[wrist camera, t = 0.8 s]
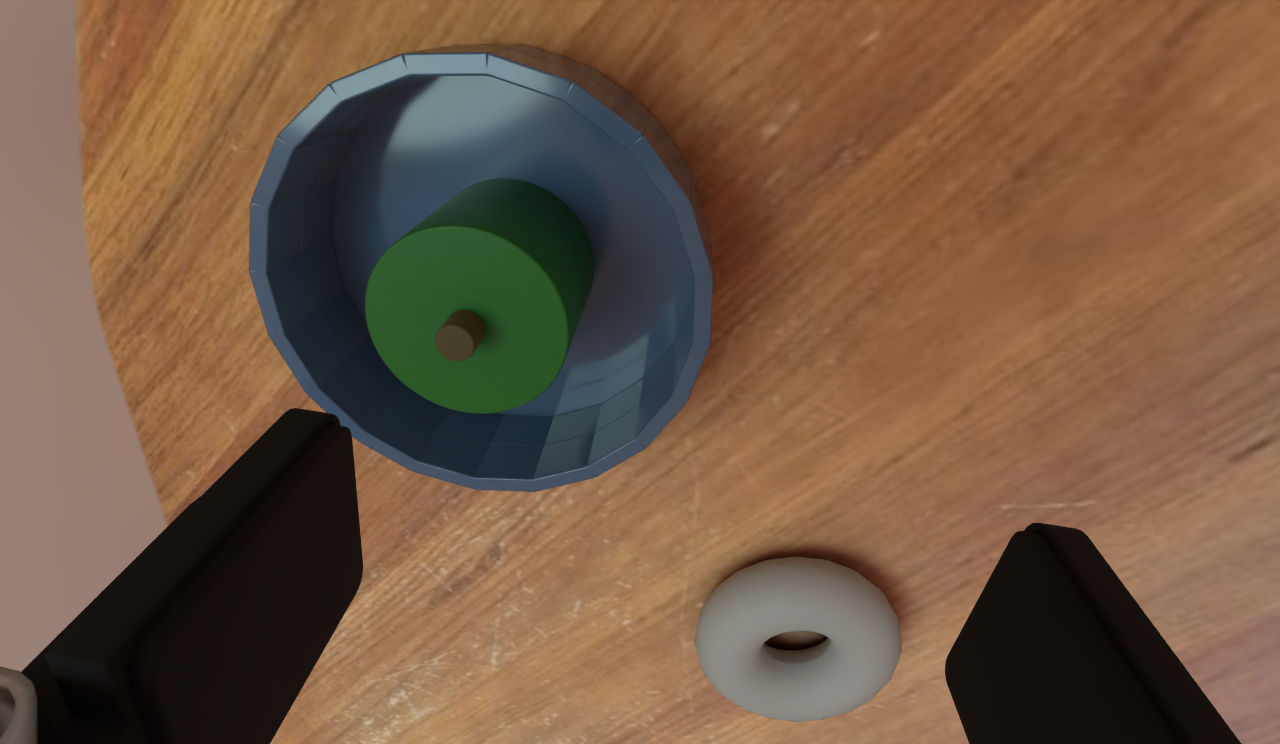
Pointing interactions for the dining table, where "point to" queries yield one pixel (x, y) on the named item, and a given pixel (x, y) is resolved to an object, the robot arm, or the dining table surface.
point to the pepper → (482, 297)
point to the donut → (798, 602)
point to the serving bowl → (426, 179)
